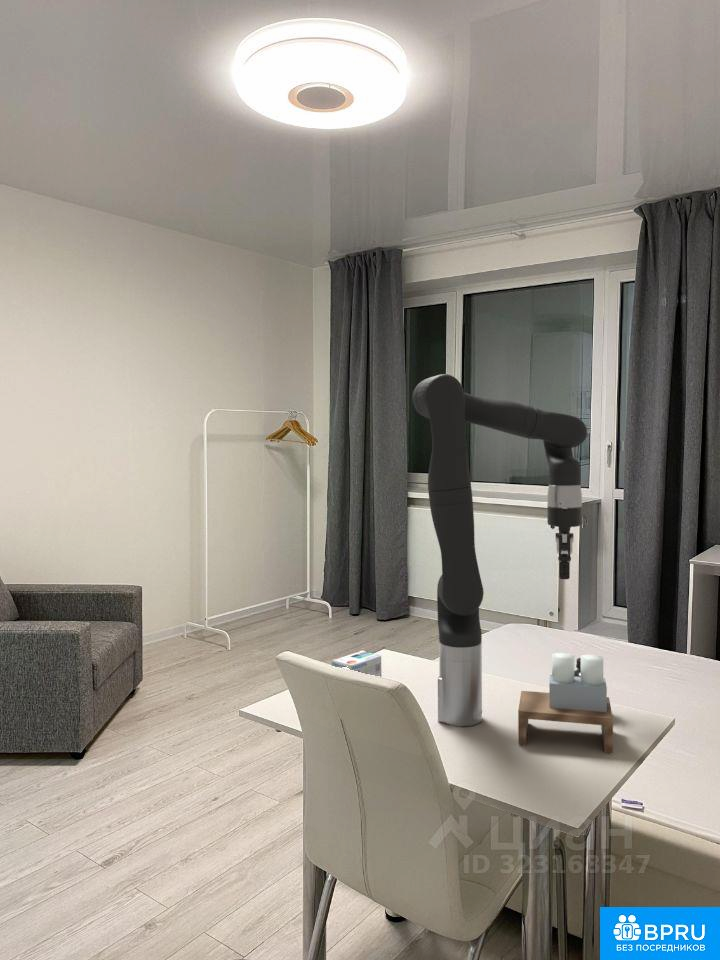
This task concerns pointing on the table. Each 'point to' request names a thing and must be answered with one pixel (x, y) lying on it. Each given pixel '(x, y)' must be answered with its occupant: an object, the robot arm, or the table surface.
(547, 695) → the walnut shelf
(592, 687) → the salt and pepper set
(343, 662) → the light bulb box
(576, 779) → the table surface
